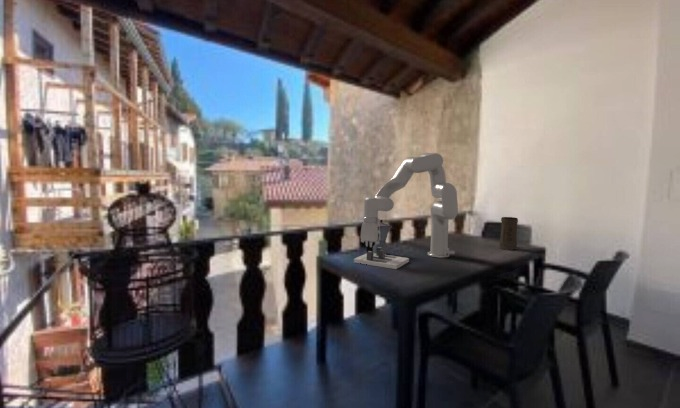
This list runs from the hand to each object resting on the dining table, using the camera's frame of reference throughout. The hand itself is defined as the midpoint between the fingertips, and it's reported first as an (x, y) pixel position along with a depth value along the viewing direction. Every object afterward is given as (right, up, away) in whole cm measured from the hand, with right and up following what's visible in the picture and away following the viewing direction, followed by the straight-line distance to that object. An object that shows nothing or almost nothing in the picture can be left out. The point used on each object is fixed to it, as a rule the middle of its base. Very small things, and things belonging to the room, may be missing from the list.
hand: (369, 253), depth 227 cm
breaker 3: (+6, -2, -3) cm, 7 cm away
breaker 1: (0, -2, -6) cm, 7 cm away
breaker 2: (+6, -1, +4) cm, 7 cm away
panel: (+6, -4, -3) cm, 8 cm away
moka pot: (+6, -2, +17) cm, 18 cm away
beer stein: (+90, -1, +40) cm, 98 cm away
